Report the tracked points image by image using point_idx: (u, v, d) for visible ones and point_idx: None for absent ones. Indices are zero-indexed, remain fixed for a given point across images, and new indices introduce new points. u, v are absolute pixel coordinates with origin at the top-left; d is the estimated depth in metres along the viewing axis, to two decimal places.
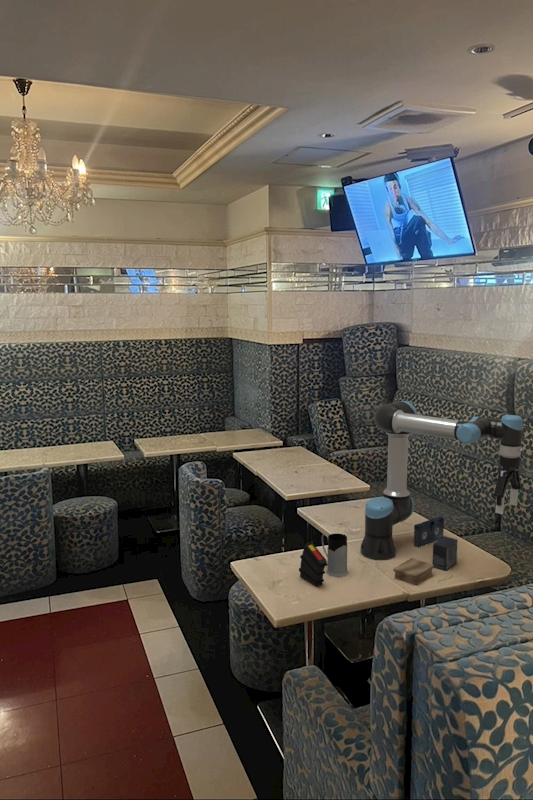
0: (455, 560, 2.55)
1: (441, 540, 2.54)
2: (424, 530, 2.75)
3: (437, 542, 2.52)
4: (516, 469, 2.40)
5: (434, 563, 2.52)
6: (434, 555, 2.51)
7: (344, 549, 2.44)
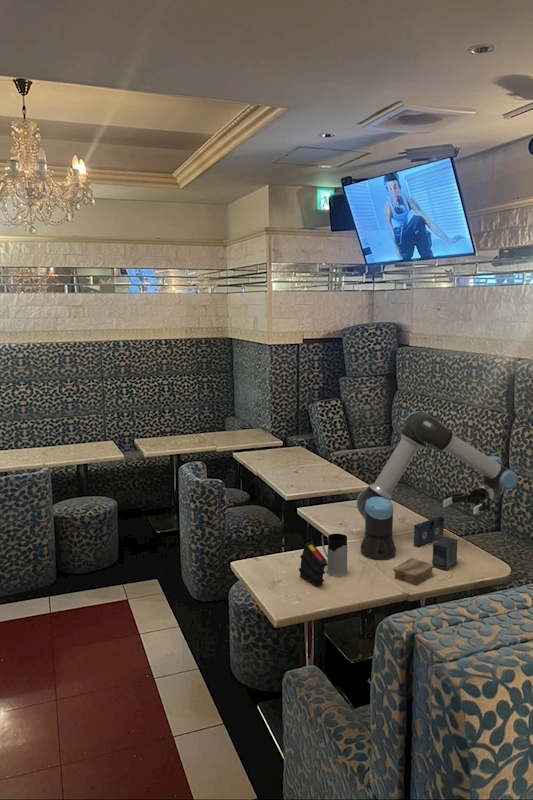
0: (455, 560, 2.55)
1: (441, 540, 2.54)
2: (424, 530, 2.74)
3: (437, 542, 2.52)
4: None
5: (434, 563, 2.52)
6: (434, 555, 2.51)
7: (344, 549, 2.44)
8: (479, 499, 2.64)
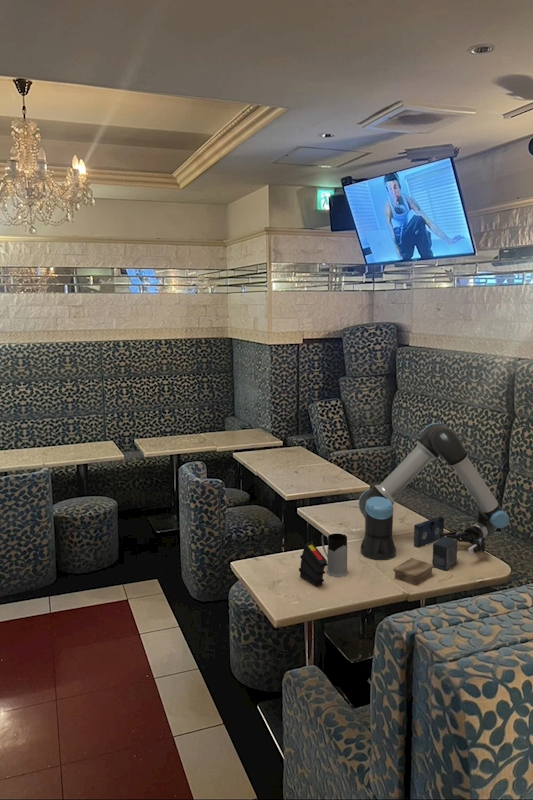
0: (455, 560, 2.55)
1: (441, 540, 2.54)
2: (424, 530, 2.74)
3: (437, 542, 2.52)
4: None
5: (434, 563, 2.52)
6: (434, 555, 2.51)
7: (344, 549, 2.44)
8: (473, 539, 2.64)
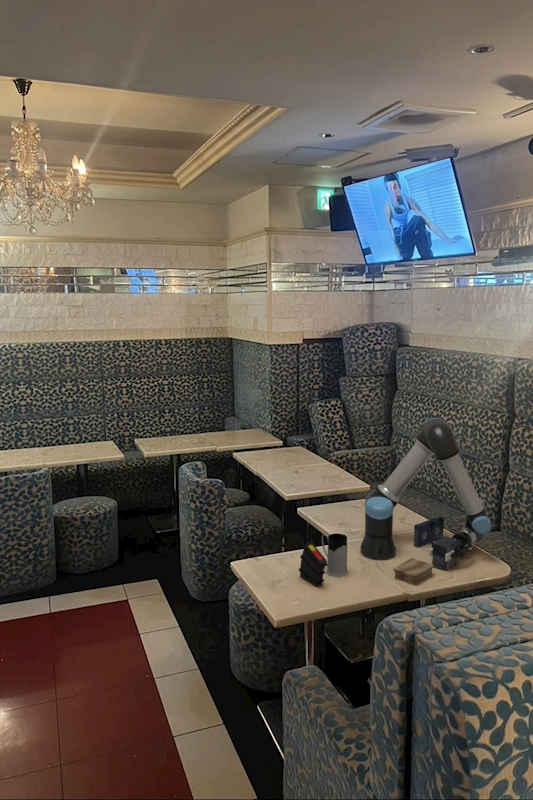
0: (455, 560, 2.55)
1: (441, 540, 2.54)
2: (424, 530, 2.75)
3: (437, 542, 2.52)
4: None
5: (434, 563, 2.52)
6: (434, 555, 2.51)
7: (344, 549, 2.44)
8: (457, 544, 2.57)
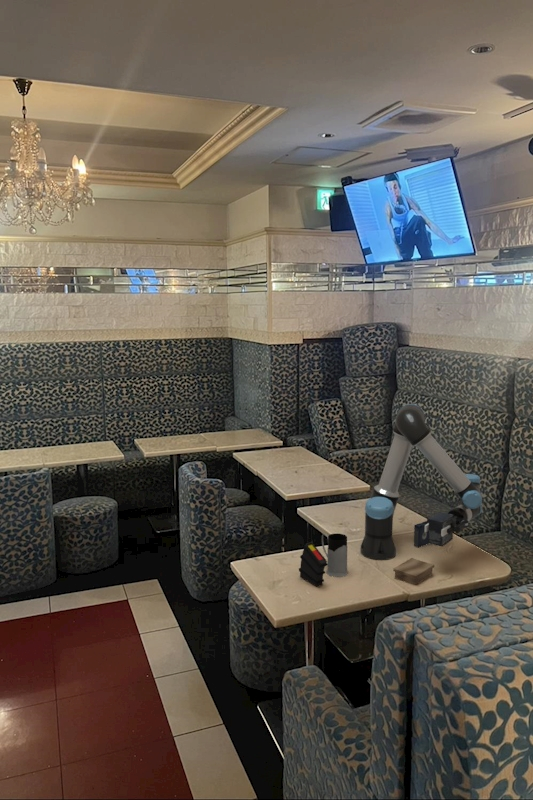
0: (451, 536, 2.49)
1: (437, 515, 2.48)
2: None
3: (433, 517, 2.46)
4: None
5: (430, 539, 2.46)
6: (430, 531, 2.45)
7: (344, 549, 2.44)
8: (453, 520, 2.51)
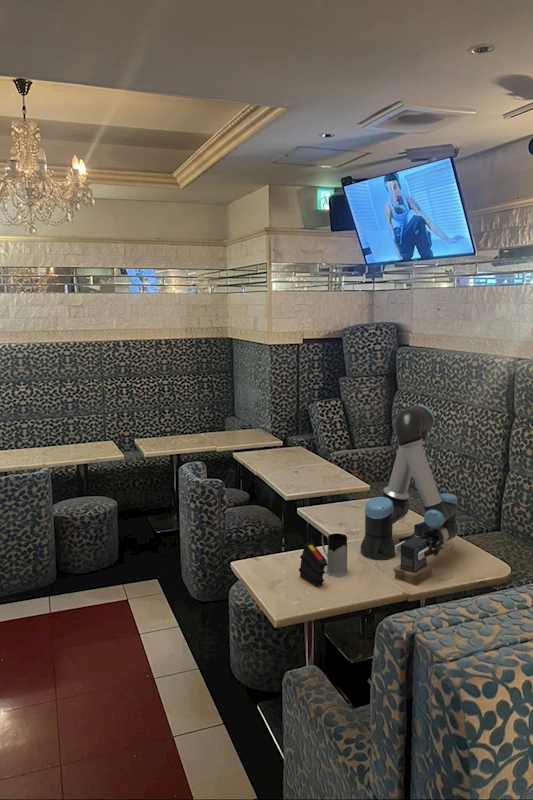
0: (425, 562, 2.44)
1: (410, 540, 2.43)
2: (424, 530, 2.75)
3: (406, 542, 2.42)
4: None
5: (402, 564, 2.41)
6: (402, 556, 2.40)
7: (344, 549, 2.44)
8: (429, 542, 2.46)
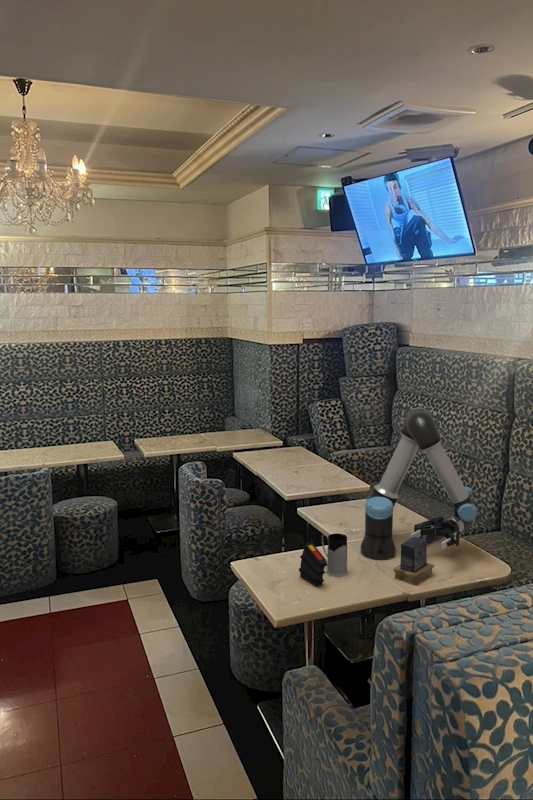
0: (425, 562, 2.44)
1: (410, 540, 2.43)
2: None
3: (406, 542, 2.42)
4: None
5: (402, 564, 2.41)
6: (402, 556, 2.40)
7: (344, 549, 2.44)
8: (448, 532, 2.55)
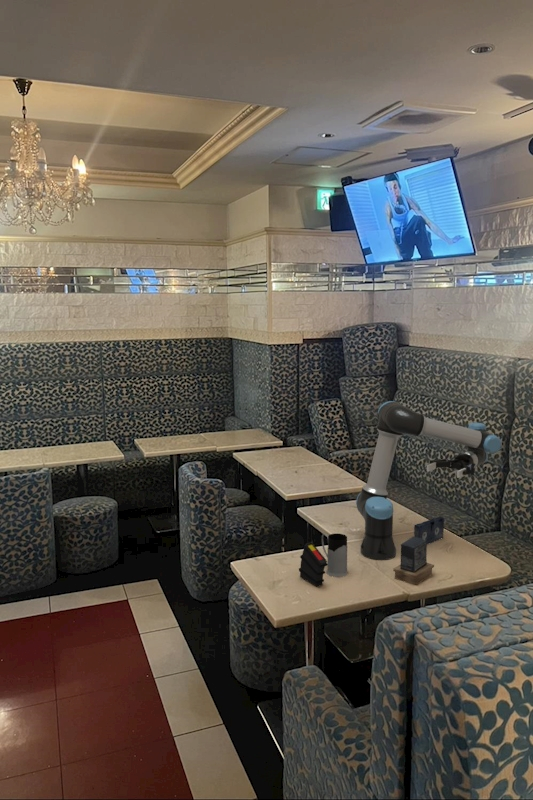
0: (425, 562, 2.44)
1: (410, 540, 2.43)
2: (424, 530, 2.74)
3: (406, 542, 2.42)
4: None
5: (402, 564, 2.41)
6: (402, 556, 2.40)
7: (344, 549, 2.44)
8: (463, 464, 2.62)
